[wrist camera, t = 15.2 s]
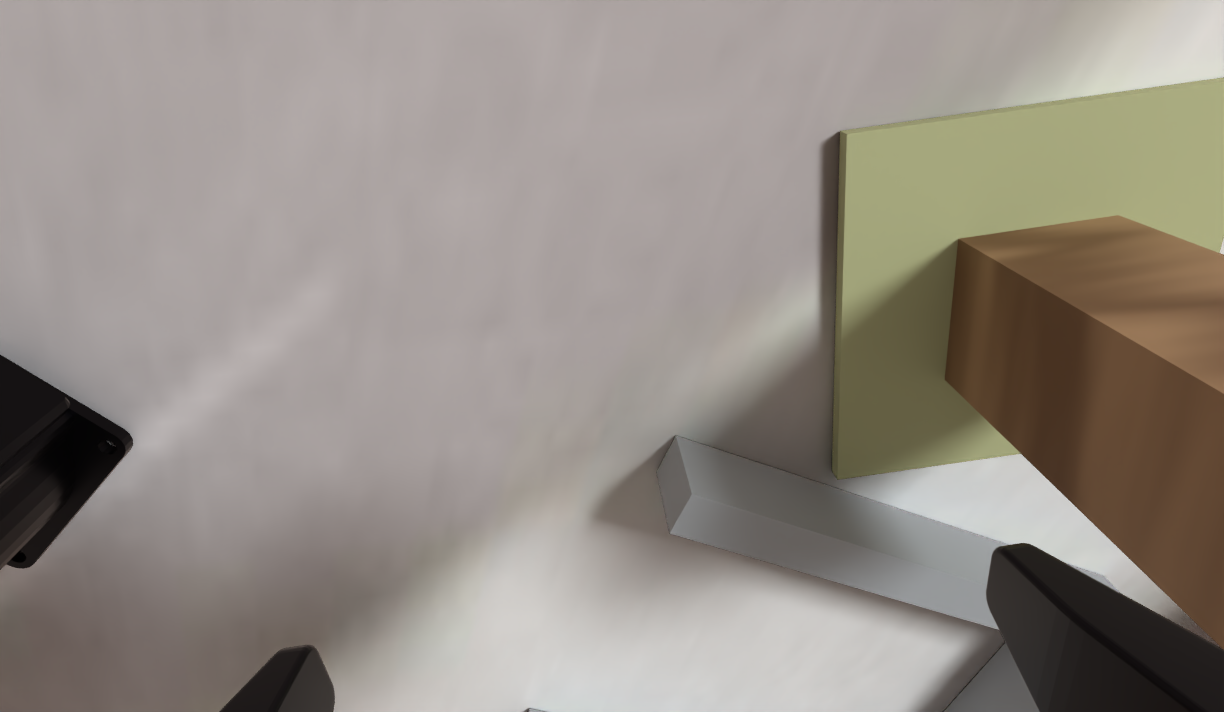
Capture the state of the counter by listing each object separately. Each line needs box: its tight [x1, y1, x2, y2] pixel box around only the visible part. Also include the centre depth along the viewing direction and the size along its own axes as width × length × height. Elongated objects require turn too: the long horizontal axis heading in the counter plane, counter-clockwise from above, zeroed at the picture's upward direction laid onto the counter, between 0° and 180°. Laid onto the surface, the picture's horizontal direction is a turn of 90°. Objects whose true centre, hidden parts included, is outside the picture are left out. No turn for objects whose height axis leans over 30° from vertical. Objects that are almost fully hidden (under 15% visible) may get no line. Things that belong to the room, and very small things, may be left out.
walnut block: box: [945, 215, 1224, 650], centre depth 15 cm, size 4×4×12 cm
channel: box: [528, 436, 1120, 712], centre depth 26 cm, size 18×15×3 cm
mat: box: [832, 78, 1224, 480], centre depth 21 cm, size 11×11×1 cm
